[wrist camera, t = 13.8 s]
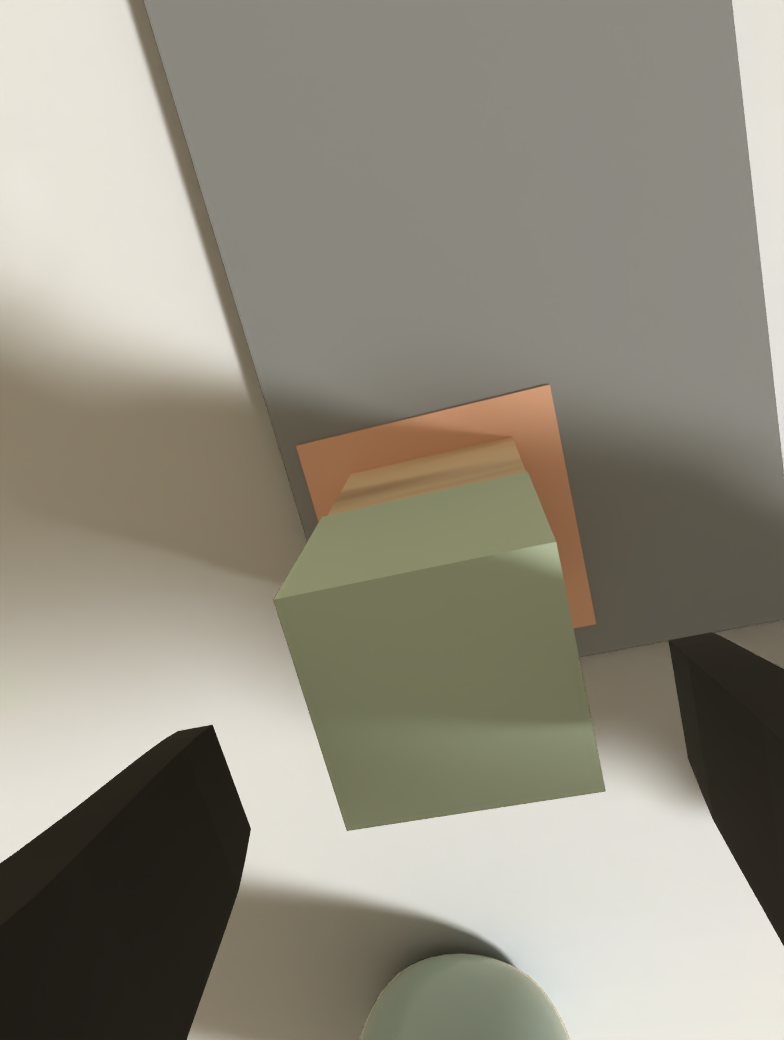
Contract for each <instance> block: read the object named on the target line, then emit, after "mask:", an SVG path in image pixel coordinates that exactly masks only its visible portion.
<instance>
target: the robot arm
mask: <svg viewBox="0 0 784 1040" xmlns="http://www.w3.org/2000/svg"><path fill="white" fill-rule="evenodd" d="M669 646H670V652H671V658H672V664H673V670H674V676H675V682H676V688H677V694H678V700H679V706H680V712H681V718H682V724H683V730H684V736H685V742H686V748H687V754H688V759H689V762H690V764H691V767H692V769H693V772H694V774H695V777H696V779H697V782H698V784H699V787H700V789H701V792H702V794H703V797H704V799H705V801H706V804H707V806H708V809H709V811H710V813H711V816H712V818H713V820H714V822H715V824H716V826H717V828H718V829H719V831H720V833H721V835H722V837H723V838H724V840H725V842H726V844H727V846H728V847H729V849H730V851H731V853H732V855H733V856H734V858H735V860H736V862H737V864H738V865H739V867H740V869H741V871H742V873H743V874H744V876H745V878H746V880H747V881H748V883H749V885H750V887H751V889H752V890H753V892H754V894H755V896H756V897H757V899H758V901H759V903H760V905H761V906H762V908H763V910H764V912H765V913H766V915H767V917H768V919H769V921H770V922H771V924H772V926H773V928H774V929H775V931H776V933H777V935H778V937H779V938H780V940H781V942H782V944H783V945H784V669H782V668H780V667H778V666H776V665H775V664H773V663H771V662H769V661H767V660H765V659H763V658H761V657H759V656H757V655H755V654H754V653H752V652H750V651H748V650H746V649H744V648H742V647H740V646H738V645H737V644H735V643H733V642H731V641H729V640H727V639H725V638H723V637H721V636H719V635H717V634H715V633H712V632H710V633H704V634H699V635H693V636H688V637H683V638H677V639H672V640H669ZM250 831H251V828H250V825H249V823H248V820H247V817H246V814H245V812H244V809H243V806H242V804H241V801H240V798H239V795H238V793H237V790H236V787H235V785H234V782H233V779H232V776H231V774H230V771H229V768H228V765H227V763H226V760H225V757H224V755H223V752H222V749H221V746H220V744H219V741H218V738H217V736H216V733H215V730H214V727H213V725H208V726H203V727H198V728H192V729H187V730H182V731H177V732H176V733H174V734H172V735H171V736H169V737H167V738H166V739H164V740H163V741H161V742H160V743H159V744H157V745H156V746H154V747H153V748H152V749H150V750H149V751H148V752H146V753H145V754H144V755H142V756H141V757H140V758H138V759H137V760H136V761H134V762H133V763H132V764H131V765H129V766H128V767H127V768H126V769H124V770H123V771H122V772H120V773H119V774H118V775H117V776H115V777H114V778H113V779H112V780H110V781H109V782H108V783H106V784H105V785H104V786H103V787H101V788H100V789H99V790H98V791H96V792H95V793H94V794H93V795H91V796H90V797H89V798H87V799H86V800H85V801H84V802H82V803H81V804H80V805H79V806H77V807H76V808H75V809H73V810H72V811H71V812H69V813H68V814H67V815H65V816H64V817H63V818H61V819H60V820H59V821H57V822H56V823H55V824H53V825H52V826H51V827H49V828H48V829H47V830H45V831H44V832H43V833H41V834H40V835H39V836H37V837H36V838H35V839H33V840H32V841H31V842H29V843H28V844H26V845H25V846H24V847H22V848H21V849H20V850H18V851H17V852H16V853H14V854H13V855H12V856H10V857H9V858H7V859H6V860H4V861H3V862H2V863H0V1040H187V1037H188V1034H189V1031H190V1028H191V1025H192V1022H193V1019H194V1017H195V1014H196V1011H197V1008H198V1005H199V1002H200V1000H201V997H202V994H203V991H204V988H205V986H206V983H207V980H208V977H209V974H210V971H211V969H212V966H213V963H214V960H215V957H216V954H217V952H218V949H219V946H220V943H221V940H222V938H223V935H224V932H225V929H226V926H227V923H228V920H229V917H230V914H231V911H232V908H233V905H234V902H235V899H236V896H237V893H238V890H239V886H240V881H241V877H242V872H243V868H244V863H245V858H246V853H247V847H248V842H249V836H250Z"/></svg>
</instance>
